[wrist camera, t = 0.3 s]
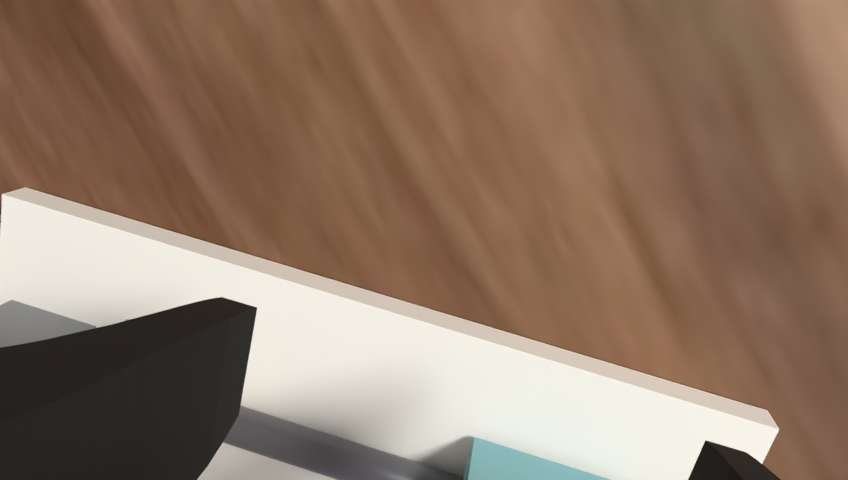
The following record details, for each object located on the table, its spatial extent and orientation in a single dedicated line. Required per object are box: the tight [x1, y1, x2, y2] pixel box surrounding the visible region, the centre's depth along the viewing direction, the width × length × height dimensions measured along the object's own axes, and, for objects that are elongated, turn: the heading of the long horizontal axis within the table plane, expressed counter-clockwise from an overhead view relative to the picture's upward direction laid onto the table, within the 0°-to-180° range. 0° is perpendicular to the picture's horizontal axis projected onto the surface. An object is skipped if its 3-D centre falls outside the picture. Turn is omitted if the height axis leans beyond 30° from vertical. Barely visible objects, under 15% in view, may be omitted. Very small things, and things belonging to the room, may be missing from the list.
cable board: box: [0, 187, 779, 480], centre depth 20 cm, size 10×24×4 cm, turn 76°
